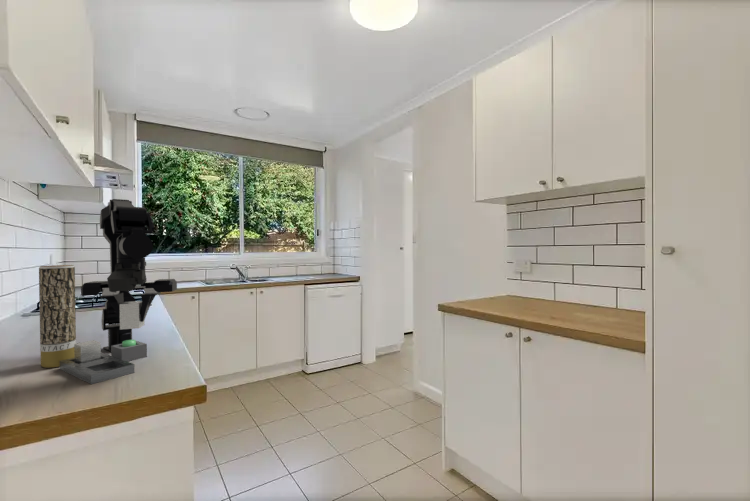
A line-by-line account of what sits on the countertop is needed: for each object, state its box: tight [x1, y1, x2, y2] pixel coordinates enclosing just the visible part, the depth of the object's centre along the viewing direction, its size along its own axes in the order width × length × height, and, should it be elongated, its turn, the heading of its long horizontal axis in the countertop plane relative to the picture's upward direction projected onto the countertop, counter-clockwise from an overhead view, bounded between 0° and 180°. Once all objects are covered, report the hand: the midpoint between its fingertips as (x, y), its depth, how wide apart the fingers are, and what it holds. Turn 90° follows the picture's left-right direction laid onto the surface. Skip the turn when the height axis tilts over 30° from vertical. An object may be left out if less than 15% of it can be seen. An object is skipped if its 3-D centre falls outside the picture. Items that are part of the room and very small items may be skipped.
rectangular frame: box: [59, 351, 135, 385], centre depth 87 cm, size 18×8×2 cm, turn 57°
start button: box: [122, 339, 137, 347], centre depth 97 cm, size 3×3×2 cm
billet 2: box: [119, 300, 145, 330], centre depth 88 cm, size 4×4×6 cm
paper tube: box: [38, 264, 77, 369], centre depth 91 cm, size 7×7×25 cm
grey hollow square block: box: [110, 340, 148, 362], centre depth 97 cm, size 6×6×4 cm
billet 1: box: [74, 339, 102, 364], centre depth 89 cm, size 4×4×6 cm
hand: (132, 322), depth 88 cm, fingers closed on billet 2, 4 cm apart
